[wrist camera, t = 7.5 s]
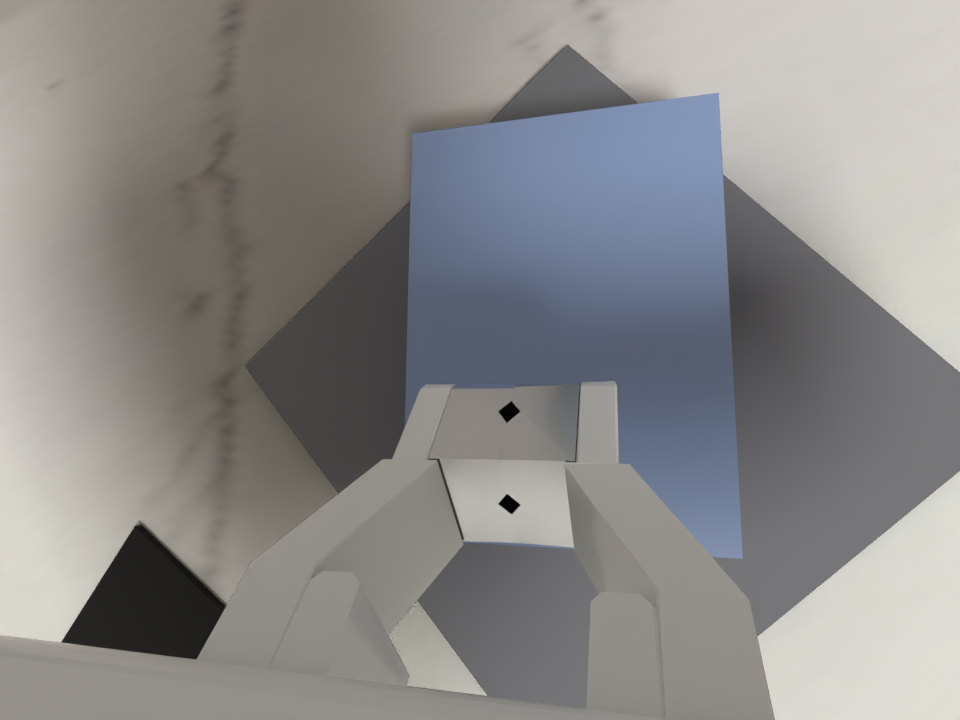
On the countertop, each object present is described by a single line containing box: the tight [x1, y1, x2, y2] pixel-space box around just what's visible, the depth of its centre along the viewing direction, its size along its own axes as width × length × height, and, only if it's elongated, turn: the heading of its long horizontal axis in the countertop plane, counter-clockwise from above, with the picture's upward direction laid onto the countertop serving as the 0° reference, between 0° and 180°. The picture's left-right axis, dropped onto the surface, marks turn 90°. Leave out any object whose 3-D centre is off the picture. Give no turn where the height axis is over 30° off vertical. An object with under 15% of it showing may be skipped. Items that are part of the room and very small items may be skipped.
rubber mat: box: [245, 45, 960, 709], centre depth 16 cm, size 16×15×1 cm
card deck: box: [405, 93, 743, 559], centre depth 15 cm, size 3×8×11 cm
